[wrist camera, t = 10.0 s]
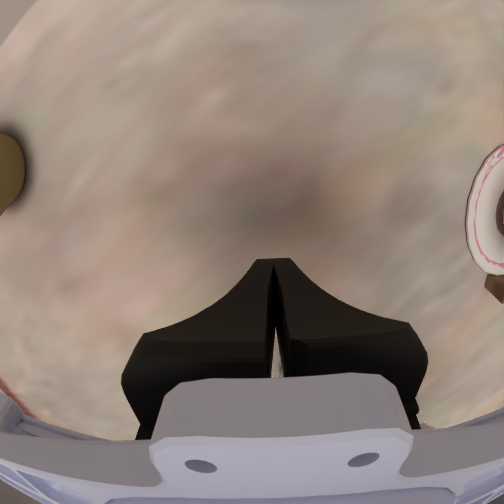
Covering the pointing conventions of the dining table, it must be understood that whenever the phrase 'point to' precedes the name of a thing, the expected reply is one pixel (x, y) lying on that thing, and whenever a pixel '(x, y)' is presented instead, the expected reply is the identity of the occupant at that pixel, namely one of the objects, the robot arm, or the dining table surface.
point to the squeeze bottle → (10, 171)
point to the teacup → (487, 215)
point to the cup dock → (496, 286)
